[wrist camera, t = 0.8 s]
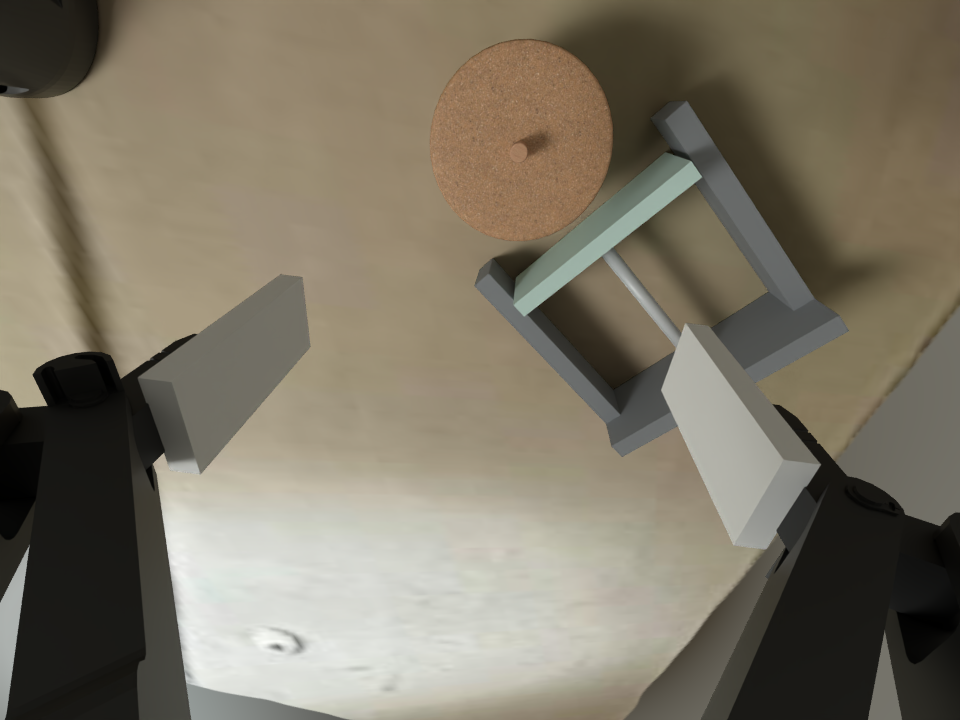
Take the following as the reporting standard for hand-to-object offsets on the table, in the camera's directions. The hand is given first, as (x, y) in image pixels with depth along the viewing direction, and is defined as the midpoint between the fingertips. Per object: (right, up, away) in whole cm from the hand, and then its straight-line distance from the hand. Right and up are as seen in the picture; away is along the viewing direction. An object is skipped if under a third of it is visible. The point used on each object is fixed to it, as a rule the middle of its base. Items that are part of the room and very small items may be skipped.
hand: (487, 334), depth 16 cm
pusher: (+13, +4, +21) cm, 26 cm away
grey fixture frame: (+12, +6, +21) cm, 25 cm away
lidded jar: (+3, +15, +17) cm, 23 cm away
